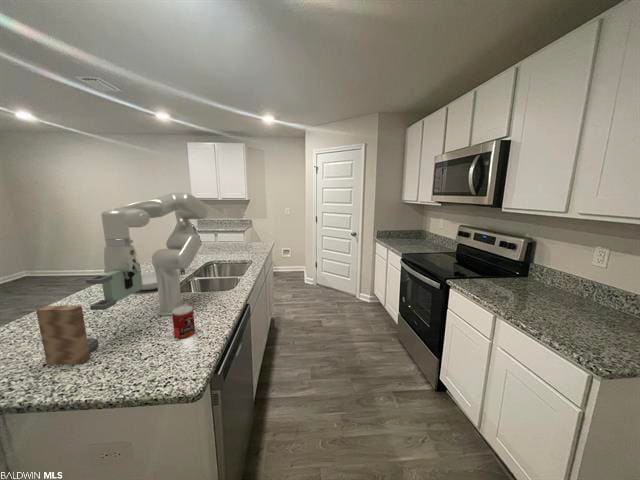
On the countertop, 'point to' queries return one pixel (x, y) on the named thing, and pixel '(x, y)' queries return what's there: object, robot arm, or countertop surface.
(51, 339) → the cabinet side
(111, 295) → the door
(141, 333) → the countertop surface
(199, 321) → the countertop surface
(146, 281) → the soup bowl
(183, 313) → the canned food
